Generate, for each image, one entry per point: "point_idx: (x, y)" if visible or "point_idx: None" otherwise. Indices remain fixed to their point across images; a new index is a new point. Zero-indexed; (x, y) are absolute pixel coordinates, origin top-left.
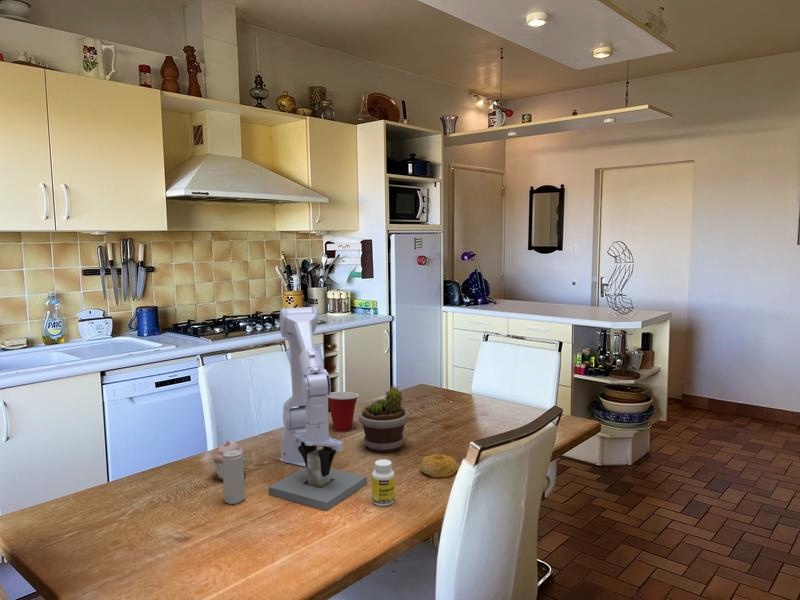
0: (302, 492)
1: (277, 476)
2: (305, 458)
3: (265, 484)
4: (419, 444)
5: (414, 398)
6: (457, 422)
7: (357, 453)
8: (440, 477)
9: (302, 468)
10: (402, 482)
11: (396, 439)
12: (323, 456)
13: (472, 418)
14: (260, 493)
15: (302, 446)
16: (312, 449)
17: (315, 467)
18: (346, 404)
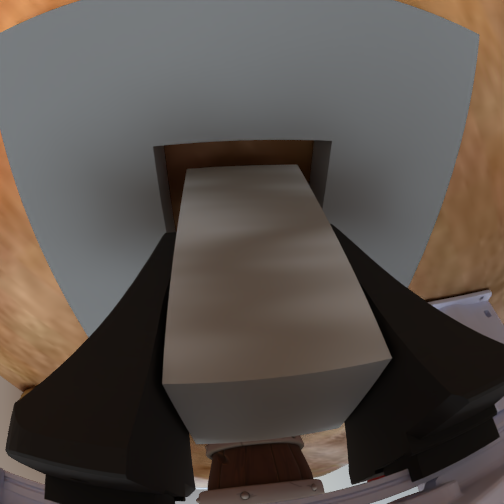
0: (226, 22)
1: (480, 206)
2: (393, 304)
3: (498, 125)
4: (195, 447)
5: (312, 471)
6: (205, 472)
7: None
8: (27, 389)
9: (410, 281)
10: (46, 358)
11: (212, 459)
12: (52, 396)
13: (197, 476)
14: (482, 35)
15: (478, 410)
16: (366, 419)
17: (235, 258)
18: (382, 476)
